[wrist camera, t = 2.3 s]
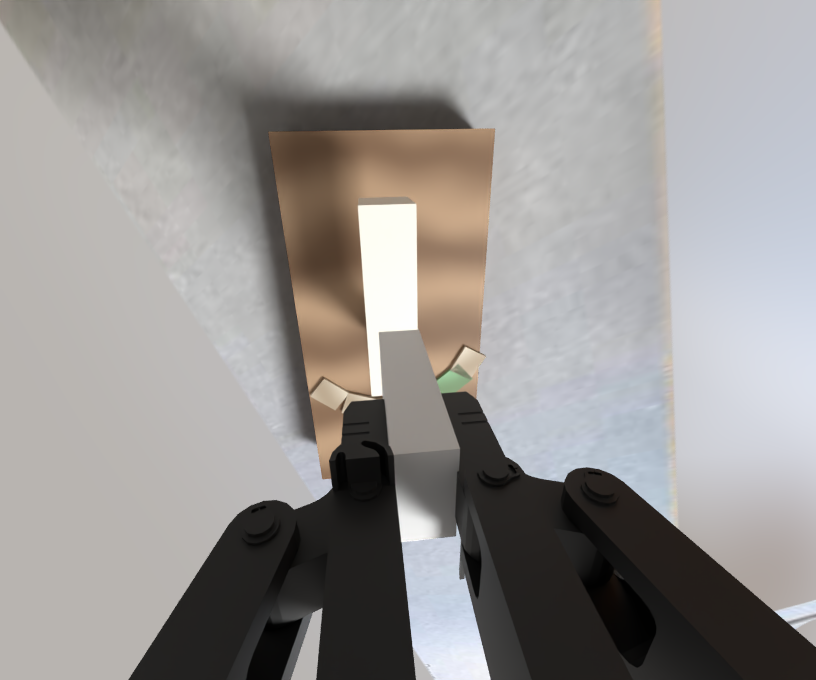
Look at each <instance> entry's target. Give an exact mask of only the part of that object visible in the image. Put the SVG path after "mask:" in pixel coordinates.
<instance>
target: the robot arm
mask: <svg viewBox="0 0 816 680" xmlns="http://www.w3.org/2000/svg"><path fill="white" fill-rule="evenodd" d="M379 345H380V362H381V380H382V396H383V399H376V400H364V401H351V403H350V404H349V405H348V407H347V408H346V409H345V411H344V413H343V426H342V438H341V444H340V445H339V446H338V447H337V448H336V449H335V450H334V451H333V452H332V454H331V457H330V459H329V466H330V473H331V480H332V487H333V488H332V489H331V490H330V491H329V492H328V493H327V494H326V495H325V496H323V497H322V498H321V499H319V500H317V501H315V502H313V503H311V504H308V505H306V506H303V507H300V508H298V509H295V510H294V509H293V508H291V506H289V505H288V504H287V503H284V502H281V501H277V500H272V501H262V502H260V503H257V504H254V505H251V506H249V507H248V508H247V509H245V510H243V511H242V512H240V513H239V514H238V515H237V516H236V517H235V518H234V519H233V521H232V522H231V523H230V524H229V525H228V527H227V528H226V530H225V531H224V533H223V534H222V536H221V538H220V539H219V541H218V542H217V544H216V545H215V547H214V548H213V550H212V551H211V553H210V555H209V556H208V558H207V559H206V561H205V562H204V564H203V565H202V567H201V568H200V570H199V572H198V573H197V575H196V576H195V578H194V579H193V581H192V582H191V584H190V586H189V587H188V589H187V590H186V592H185V593H184V595H183V596H182V598H181V599H180V601H179V602H178V604H177V606H176V607H175V609H174V610H173V612H172V613H171V615H170V617H169V618H168V620H167V621H166V623H165V624H164V626H163V627H162V629H161V630H160V632H159V633H158V635H157V637H156V638H155V640H154V641H153V643H152V645H151V646H150V647H149V649H148V650H147V652H146V653H145V655H144V657H143V658H142V660H141V661H140V663H139V664H138V666H137V667H136V669H135V670H134V672H133V674H132V675H131V677H130V678H129V680H291V677H292V674H293V671H294V668H295V665H296V662H297V658H298V655H299V652H300V649H301V646H302V643H303V640H304V637H305V634H306V631H307V628H308V625H309V622H310V619H311V616H312V613H313V612H315V611H317V610H319V609H321V608H323V610H322V622H321V634H320V644H319V655H318V667H317V678H316V680H416V676H415V667H414V657H413V647H412V638H411V628H410V619H409V610H408V600H407V591H406V581H405V572H404V562H403V553H402V543H401V542H408V541H417V540H426V539H435V538H444V537H453V536H456V523H457V526H458V530H459V534H460V538H461V549H460V567H459V575H460V579H464V576H465V577H466V581H467V585H468V589H469V593H470V597H471V601H472V605H473V609H474V613H475V617H476V621H477V625H478V629H479V633H480V637H481V641H482V645H483V649H484V653H485V657H486V662H487V666H488V670H489V674H490V678H491V680H816V647H815V646H814V645H813V644H811V643H810V642H809V641H808V640H807V639H806V638H805V637H803V636H802V635H801V634H799V632H797V631H796V630H795V629H794V628H793V627H792V626H791V625H789V624H788V623H787V622H786V621H785V620H784V619H782V618H781V617H780V616H779V615H778V614H777V613H775V612H774V611H773V610H772V609H771V608H770V607H768V606H767V605H766V604H765V603H764V602H763V601H761V600H760V599H759V598H758V597H757V596H755V595H754V594H753V593H752V592H751V591H750V590H749V589H747V588H746V587H745V586H744V585H743V584H742V583H740V582H739V581H738V580H737V579H735V577H733V576H732V575H731V574H730V573H729V572H727V571H726V570H725V569H724V568H723V567H722V566H721V565H719V564H718V563H717V562H716V561H715V560H714V559H712V558H711V557H710V556H709V555H708V554H707V553H706V552H704V551H703V550H702V549H701V548H700V547H699V546H697V545H696V544H695V543H694V542H693V541H692V540H690V539H689V538H688V537H687V536H686V535H685V534H683V533H682V532H681V531H680V530H679V529H678V528H676V527H675V526H674V525H673V524H672V523H671V522H669V521H668V520H667V519H666V518H665V517H664V516H662V515H661V514H660V513H659V512H658V511H657V510H655V509H654V508H653V507H652V506H651V505H650V504H648V503H647V502H646V501H645V500H644V499H643V498H641V497H640V496H639V495H638V494H637V493H636V492H634V491H633V490H632V489H631V488H630V487H629V486H627V485H626V484H625V483H624V482H623V481H621V480H620V479H618V478H617V477H615V476H614V475H612V474H610V473H607V472H605V471H602V470H600V469H594V468H587V467H586V468H579V469H575V470H573V471H571V472H570V473H568V475H567V477H566V479H565V482H564V483H563V482H557V481H551V480H544V479H539V478H535V477H531V476H529V475H526V474H525V473H524V471H523V470H522V469H521V467H520V466H519V465H518V464H517V463H515V462H514V461H512V460H511V459H509V458H507V457H505V455H504V453H503V451H502V449H501V447H500V445H499V443H498V441H497V439H496V437H495V435H494V433H493V431H492V429H491V427H490V425H489V423H488V422H487V418H486V416H485V414H484V413H483V410H482V408H481V406H480V404H479V402H478V400H477V399H475V398H474V397H473V396H472V395H470V394H469V393H468V392H467V391H464V392H452V393H441V392H440V389H439V386H438V383H437V380H436V377H435V375H434V372H433V369H432V366H431V363H430V360H429V357H428V354H427V351H426V348H425V346H424V343H423V340H422V337H421V334H420V331H419V330H404V331H387V332H379Z"/></svg>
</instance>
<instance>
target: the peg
mask: <svg viewBox="0 0 816 680" xmlns="http://www.w3.org/2000/svg"><path fill="white" fill-rule="evenodd" d="M358 216H359V230H360V244H361V258H362V271H363V285H364V299H365V313H366V327H367V340H368V354H369V368H370V382H371V395H372V396H382V380H381V362H380V345H379V332H387V331H404V330H418V321H417V214H416V203H415V202H413V201H412V200H411V199H410V198H408V197H375V198H359V199H358Z"/></svg>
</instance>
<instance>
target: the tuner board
mask: <svg viewBox="0 0 816 680" xmlns="http://www.w3.org/2000/svg"><path fill="white" fill-rule="evenodd" d="M268 135H269V141H270V147H271V154H272V160H273V166H274V173H275V179H276V186H277V192H278V198H279V205H280V211H281V218H282V224H283V230H284V237H285V243H286V249H287V256H288V262H289V269H290V275H291V281H292V288H293V294H294V301H295V307H296V313H297V320H298V326H299V333H300V339H301V345H302V352H303V358H304V364H305V371H306V377H307V384H308V390H309V396H310V403H311V409H312V416H313V422H314V428H315V435H316V441H317V448H318V454H319V460H320V467H321V473H322V479H331V473H330V466H329V459H330V457H331V454H332V452H333V451H334V450H335V449H336V448H337V447H338V446H339V445H340V444H341V438H342V426H343V413H344V411H345V409H346V408H347V407H348V405H349V404H350V403H351V401H364V400H376V399H383V396H372V395H371V382H370V368H369V354H368V340H367V327H366V313H365V299H364V285H363V271H362V258H361V244H360V230H359V216H358V199H359V198H375V197H408V198H410V199H411V200H412V201H413V202H415V203H416V214H417V321H418V330H419V331H420V334H421V337H422V340H423V343H424V346H425V348H426V351H427V354H428V357H429V360H430V363H431V366H432V369H433V372H434V375H435V377H436V380H437V383H438V386H439V389H440V392H441V393H452V392H464V391H467V392H468V393H469V394H470V395H472V396H473V397H474V398H475V399H476V395H477V381H478V367H479V366H480V365H481V363H482V362H483V360H484V359H485V357H486V356H485V355H484V354H482V353H480V338H481V323H482V309H483V295H484V280H485V266H486V251H487V237H488V222H489V208H490V194H491V179H492V165H493V150H494V136H495V129H425V130H353V131H280V132H268Z"/></svg>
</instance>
